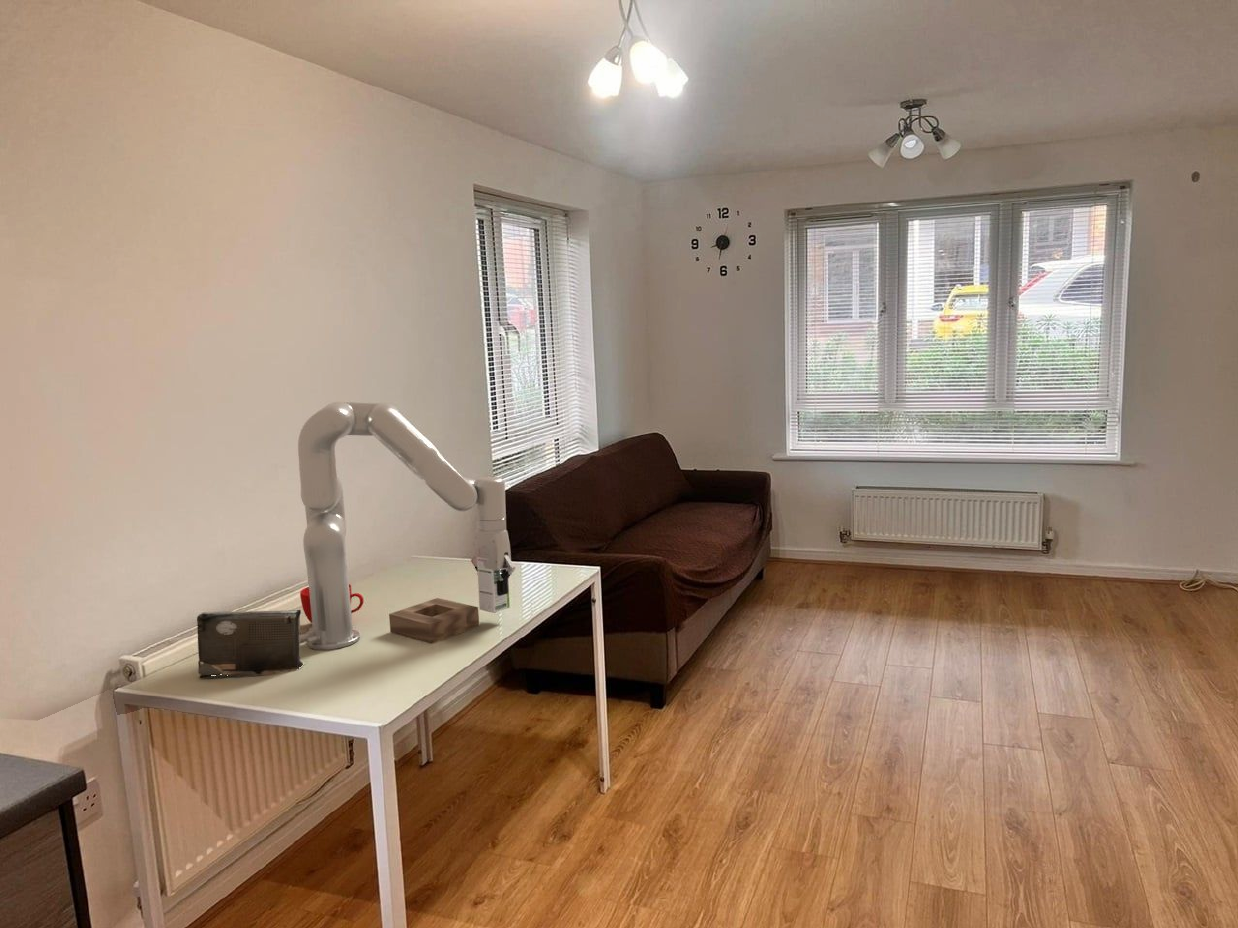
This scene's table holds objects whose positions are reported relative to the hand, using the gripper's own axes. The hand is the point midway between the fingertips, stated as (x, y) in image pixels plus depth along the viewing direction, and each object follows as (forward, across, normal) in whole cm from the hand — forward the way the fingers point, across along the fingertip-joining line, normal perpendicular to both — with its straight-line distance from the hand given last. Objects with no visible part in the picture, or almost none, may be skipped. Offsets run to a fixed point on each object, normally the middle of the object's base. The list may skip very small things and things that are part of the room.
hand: (493, 591), depth 229 cm
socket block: (+9, -9, -12) cm, 18 cm away
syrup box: (+5, 0, 0) cm, 5 cm away
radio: (+10, -24, -54) cm, 60 cm away
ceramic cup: (+10, -35, -24) cm, 44 cm away
